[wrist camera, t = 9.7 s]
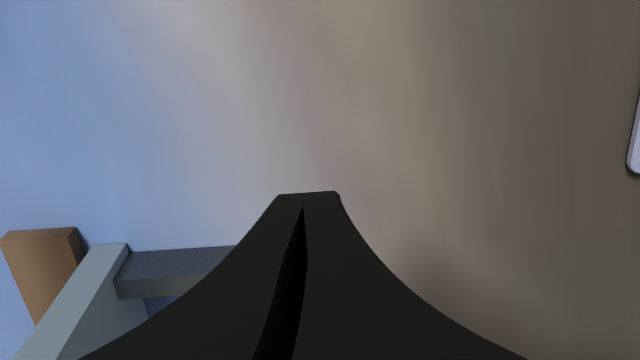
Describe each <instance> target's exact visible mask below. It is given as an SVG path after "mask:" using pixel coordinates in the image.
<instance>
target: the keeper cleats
mask: <svg viewBox="0 0 640 360" xmlns="http://www.w3.org/2000/svg"><path fill="white" fill-rule="evenodd" d="M236 246H237V245H235V246H220V247H204V248H189V249H174V250H158V251H143V252H129V253H128V255H127V256H126V258H125V260H124V262H123V263H122V265H121V267H120V269H119V270H118V272H117V274H116V275H115V277H114V279H113V284H114V287H115V290H116V293H117V296H118V299H119V300H122V299H138V298H155V297H171V296H182V295H183V294H185V293H186V292H187V291H188V290H190V289H191V288H192V287H193V286H194V285H196V284H197V283H198V282H199V281H200V280H202V279H203V278H204V277H205V276H206V275H207V274H209V273H210V272H211V271H212V270H213V269H214V268H215V267H216V266H217V265H218V264H219V263H220V262H221V261H222V260H223V259H224V258H225V257H226V256H227V255H228V254H229V253H230V252H231V251H232V250H233V249H234V248H235V247H236Z"/></svg>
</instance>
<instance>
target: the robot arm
mask: <svg viewBox="0 0 640 360" xmlns="http://www.w3.org/2000/svg"><path fill="white" fill-rule="evenodd" d="M627 165H628V167H629V168H630V169H631V170H632V171H634V172H635V173H640V97H639V102H638V107H637V112H636V117H635V121H634V126H633V131H632V136H631V141H630V146H629V151H628V156H627ZM77 360H528V359H526V358H524V357H522V356H519V355H517V354H515V353H513V352H511V351H509V350H507V349H505V348H503V347H501V346H499V345H497V344H495V343H493V342H491V341H489V340H487V339H485V338H483V337H480V336H479V335H477V334H475V333H473V332H471V331H470V330H468V329H466V328H465V327H463V326H461V325H460V324H458V323H456V322H455V321H453V320H451V319H450V318H448V317H447V316H445V315H444V314H442V313H441V312H439V311H438V310H437V309H435V308H434V307H432V306H431V305H430V304H428V303H427V302H426V301H424V300H423V299H421V298H420V297H419V296H418V295H416V294H415V293H414V292H413V291H412V290H411V289H409V288H408V287H407V286H406V285H405V284H404V283H403V282H402V281H401V280H399V279H398V278H397V277H396V276H395V275H394V274H393V273H392V272H391V271H390V270H389V269H388V268H387V267H386V266H385V264H384V263H383V262H382V261H381V260H380V259H379V258H378V256H377V255H376V254H375V253H374V252H373V251H372V249H371V248H370V247H369V246H368V244H367V243H366V242H365V240H364V239H363V238H362V236H361V235H360V233H359V232H358V230H357V229H356V228H355V226H354V225H353V223H352V221H351V220H350V218H349V216H348V214H347V213H346V211H345V209H344V207H343V204H342V202H341V199H340V195H339V194H338V193H337V192H335V191H323V192H309V193H295V194H280V195H278V196H277V197H276V198H275V199H274V200H273V201H272V203H271V204H270V205H269V207H268V208H267V209H266V210H265V212H264V213H263V214H262V216H261V217H260V218H259V219H258V221H257V222H256V223H255V224H254V226H253V227H252V228H251V229H250V230H249V232H248V233H247V234H246V235H245V236H244V237H243V239H242V240H241V241H240V242H239V243H238V244H237V246H236V247H235V248H234V249H233V250H232V251H231V252H230V253H229V254H228V255H227V256H226V257H225V258H224V259H223V260H222V261H221V262H220V263H219V264H218V265H217V266H216V267H215V268H214V269H213V270H212V271H211V272H210V273H209V274H207V275H206V276H205V277H204V278H203V279H202V280H200V281H199V282H198V283H197V284H196V285H194V286H193V287H192V288H191V289H190V290H188V291H187V292H186V293H185V294H183V295H182V296H181V297H179V298H178V299H176V300H175V301H174V302H172V303H171V304H169V305H168V306H166V307H165V308H163V309H162V310H161V311H159V312H158V313H156V314H155V315H153V316H152V317H150V318H149V319H148V320H146V321H145V322H143V323H142V324H140V325H138V326H137V327H135V328H133V329H132V330H130V331H128V332H127V333H125V334H123V335H122V336H120V337H118V338H116V339H115V340H113V341H111V342H109V343H107V344H106V345H104V346H102V347H100V348H98V349H97V350H95V351H93V352H91V353H89V354H87V355H85V356H83V357H81V358H79V359H77Z"/></svg>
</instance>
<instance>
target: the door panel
mask: <svg viewBox="0 0 640 360" xmlns="http://www.w3.org/2000/svg"><path fill="white" fill-rule="evenodd" d="M128 253H129V251H128V248H127V245H126V243H120V244H105V245H93V246H92V247H91V249H90V250H89V252H88V253H87V254H86V256H85V257H84V259H83V260H82V261H81V263H80V264H79V266H78V267H77V269H76V270H75V271H74V273H73V274H72V276H71V277H70V279H69V280H68V281H67V283H66V284H65V286H64V287H63V289H62V290H61V291H60V293H59V294H58V296H57V297H56V299H55V300H54V301H53V303H52V304H51V306H50V307H49V309H48V310H47V311H46V313H45V314H44V316H43V317H42V319H41V320H40V321H39V323H38V324H37V326H36V327H35V329H34V330H33V331H32V333H31V334H30V336H29V337H28V338H27V340H26V341H25V343H24V344H23V346H22V347H21V348H20V350H19V351H18V353H17V354H16V356H15V357H14V358H13V360H77V359H79V358H81V357H83V356H85V355H87V354H89V353H91V352H93V351H95V350H97V349H98V348H100V347H102V346H104V345H106V344H107V343H109V342H111V341H113V340H115V339H116V338H118V337H120V336H122V335H123V334H125V333H127V332H128V331H130V330H132V329H133V328H135V327H137V326H138V325H140V324H142V323H143V322H145V321H146V320H148V319H149V316H148V313H147V310H146V307H145V303H144V300H143V298H138V299H122V300H119V299H118V296H117V293H116V290H115V287H114V284H113V279H114V277H115V275H116V274H117V272H118V270H119V269H120V267H121V265H122V263H123V262H124V260H125V258H126V256H127V255H128Z"/></svg>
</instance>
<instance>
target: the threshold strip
mask: <svg viewBox="0 0 640 360" xmlns="http://www.w3.org/2000/svg"><path fill="white" fill-rule="evenodd" d="M0 247H1V250H2V252H3V254H4V257H5V259H6V261H7V263H8V266H9V268H10V270H11V272H12V275H13V277H14V279H15V281H16V284H17V286H18V288H19V290H20V293H21V295H22V297H23V300H24V302H25V304H26V306H27V309H28V311H29V313H30V315H31V318H32V320H33V322H34V324H35V327H36V326H37V324H38V323H39V321H40V320H41V319H42V317H43V316H44V314H45V313H46V311H47V310H48V309H49V307H50V306H51V304H52V303H53V301H54V300H55V299H56V297H57V296H58V294H59V293H60V291H61V290H62V289H63V287H64V286H65V284H66V283H67V281H68V280H69V279H70V277H71V276H72V274H73V273H74V271H75V270H76V269H77V267H78V266H79V264H80V263H81V261H82V260H83V259H84V257H85V254H84V251H83V248H82V245H81V242H80V239H79V237H78V234H77V231H76V228H75V227H68V228H53V229H38V230H24V231H9V232H7V233H6V234H5V235H4V236H3V237H2V238H1V239H0Z"/></svg>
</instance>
